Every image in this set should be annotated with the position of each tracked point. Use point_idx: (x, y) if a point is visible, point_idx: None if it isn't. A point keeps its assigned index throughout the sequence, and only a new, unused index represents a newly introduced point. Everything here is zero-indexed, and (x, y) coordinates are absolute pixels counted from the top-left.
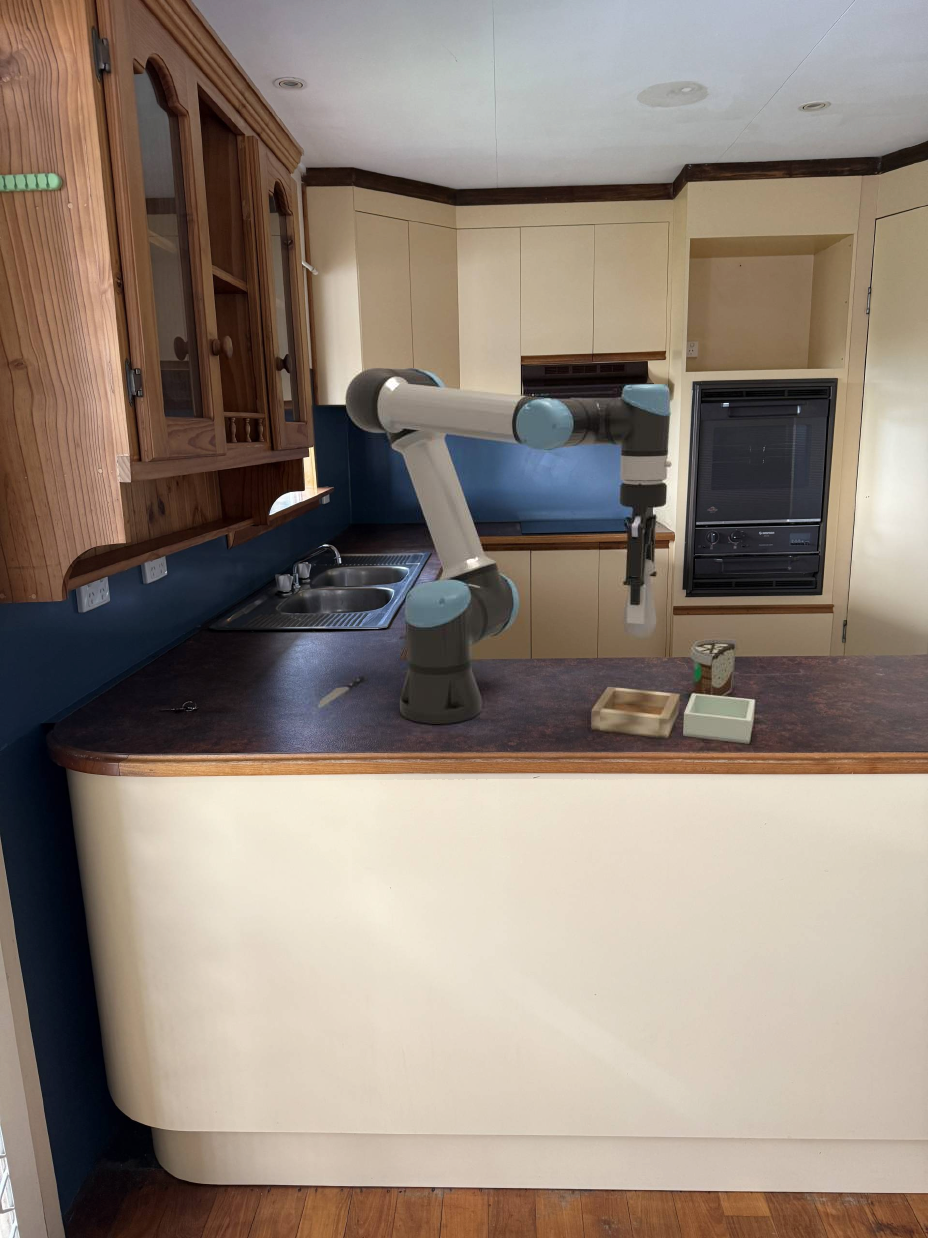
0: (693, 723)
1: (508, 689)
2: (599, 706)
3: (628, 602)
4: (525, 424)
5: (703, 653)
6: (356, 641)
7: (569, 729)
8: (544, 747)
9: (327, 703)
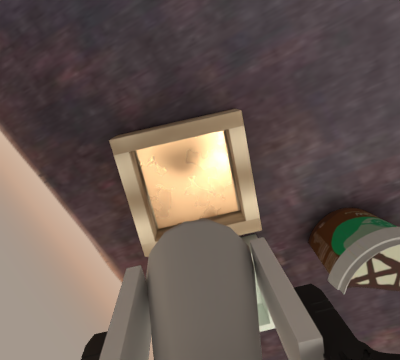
0: None
1: None
2: (134, 143)
3: (113, 321)
4: None
5: (349, 276)
6: None
7: (96, 104)
8: (6, 105)
9: None
